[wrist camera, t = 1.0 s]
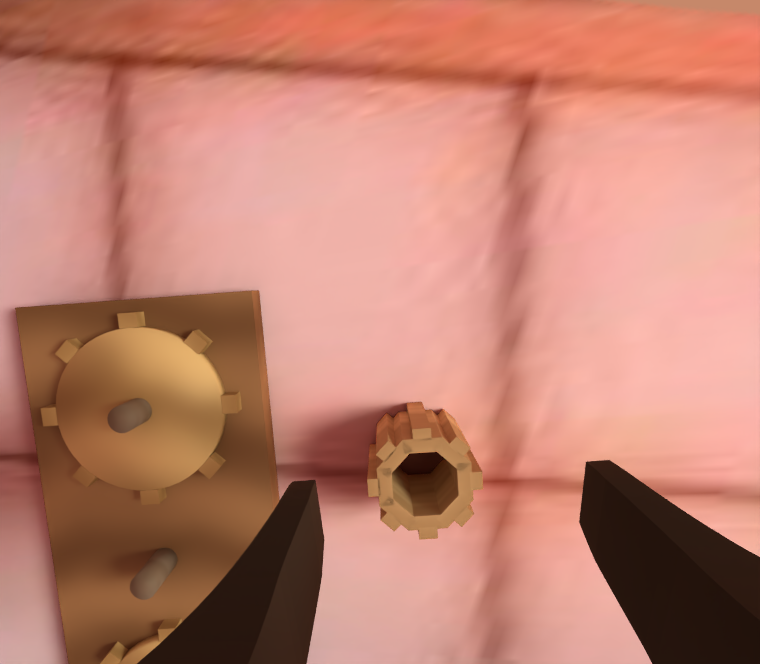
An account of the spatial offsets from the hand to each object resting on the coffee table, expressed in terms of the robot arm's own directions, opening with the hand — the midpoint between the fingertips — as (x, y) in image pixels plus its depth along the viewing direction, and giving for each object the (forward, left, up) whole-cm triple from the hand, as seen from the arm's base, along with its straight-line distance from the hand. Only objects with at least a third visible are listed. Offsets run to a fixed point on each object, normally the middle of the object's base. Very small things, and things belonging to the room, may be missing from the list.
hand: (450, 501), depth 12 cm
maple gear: (-4, 0, -15) cm, 15 cm away
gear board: (-9, +15, -15) cm, 23 cm away
